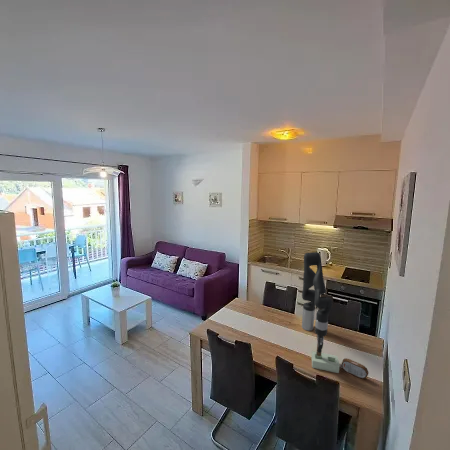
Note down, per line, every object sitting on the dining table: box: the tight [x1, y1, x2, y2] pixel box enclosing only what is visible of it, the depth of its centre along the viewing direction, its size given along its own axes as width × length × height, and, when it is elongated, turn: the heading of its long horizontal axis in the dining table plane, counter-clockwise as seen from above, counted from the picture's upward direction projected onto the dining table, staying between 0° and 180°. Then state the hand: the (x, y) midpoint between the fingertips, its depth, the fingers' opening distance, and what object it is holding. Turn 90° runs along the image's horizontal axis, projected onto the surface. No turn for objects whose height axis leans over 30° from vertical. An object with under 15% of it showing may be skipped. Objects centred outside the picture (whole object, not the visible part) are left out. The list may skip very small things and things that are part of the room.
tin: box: [341, 357, 369, 380], centre depth 157 cm, size 15×3×8 cm, turn 50°
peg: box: [316, 341, 323, 356], centre depth 164 cm, size 3×3×10 cm
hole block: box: [311, 350, 340, 374], centre depth 165 cm, size 10×16×5 cm, turn 73°
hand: (319, 350), depth 165 cm, fingers closed on peg, 3 cm apart
